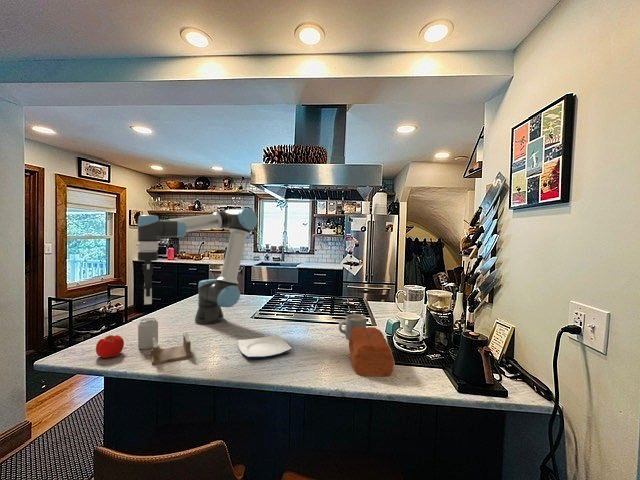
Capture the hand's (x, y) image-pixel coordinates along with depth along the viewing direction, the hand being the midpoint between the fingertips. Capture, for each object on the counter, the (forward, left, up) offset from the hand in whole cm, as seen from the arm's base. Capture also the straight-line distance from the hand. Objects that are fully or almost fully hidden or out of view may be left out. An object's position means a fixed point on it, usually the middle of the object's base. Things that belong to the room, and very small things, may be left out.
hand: (147, 300), depth 127 cm
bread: (-77, +55, -21) cm, 97 cm away
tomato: (+13, +3, -21) cm, 24 cm away
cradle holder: (-8, +14, -20) cm, 26 cm away
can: (0, 0, -21) cm, 21 cm away
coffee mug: (-86, +32, -21) cm, 94 cm away
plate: (-43, +26, -21) cm, 55 cm away
